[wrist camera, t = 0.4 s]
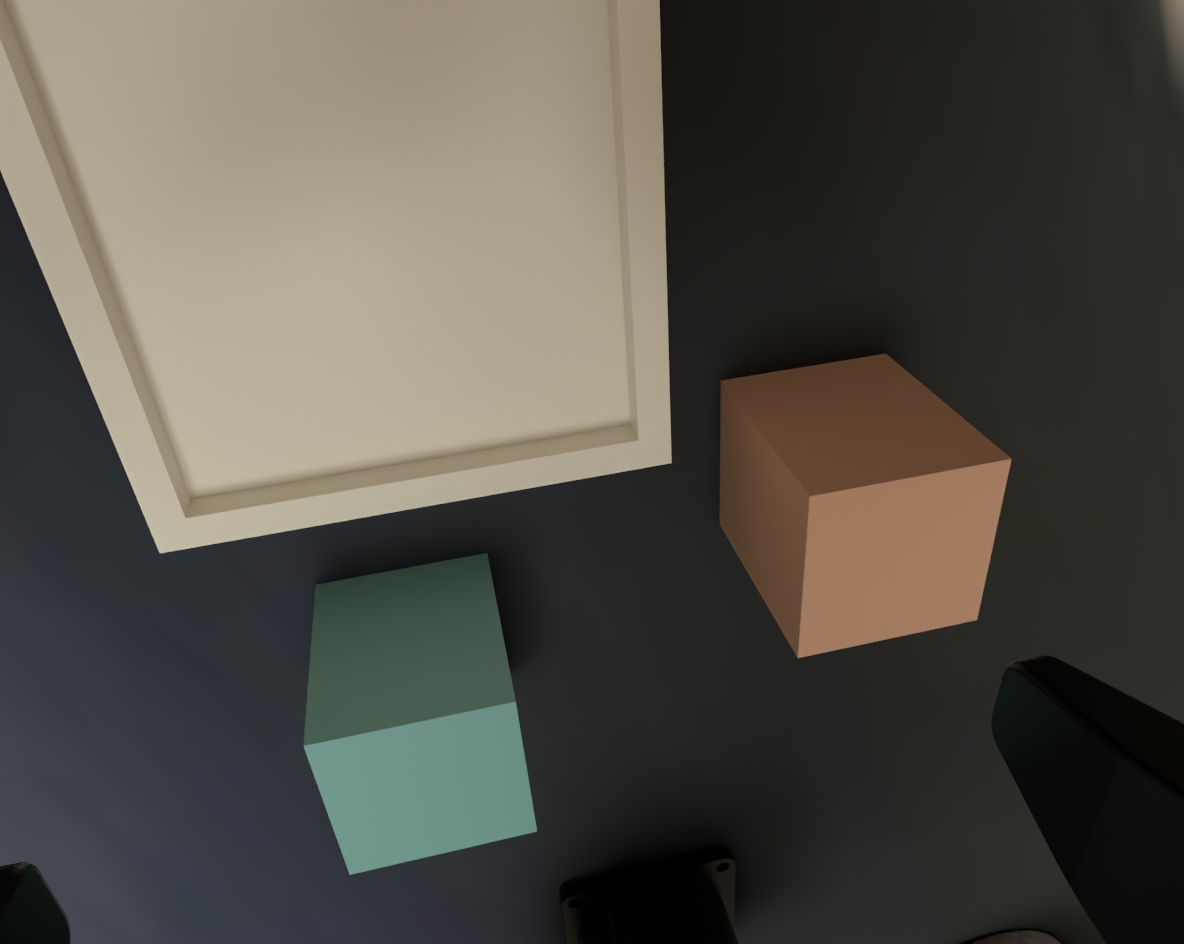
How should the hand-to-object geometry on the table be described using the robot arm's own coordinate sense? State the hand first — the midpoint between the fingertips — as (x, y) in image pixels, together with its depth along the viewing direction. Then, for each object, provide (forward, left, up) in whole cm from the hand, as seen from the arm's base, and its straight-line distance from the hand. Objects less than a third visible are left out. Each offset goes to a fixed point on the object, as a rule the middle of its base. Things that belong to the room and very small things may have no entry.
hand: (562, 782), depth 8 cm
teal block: (-10, +2, -14) cm, 17 cm away
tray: (+1, +1, -14) cm, 14 cm away
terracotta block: (-6, -9, -14) cm, 17 cm away
